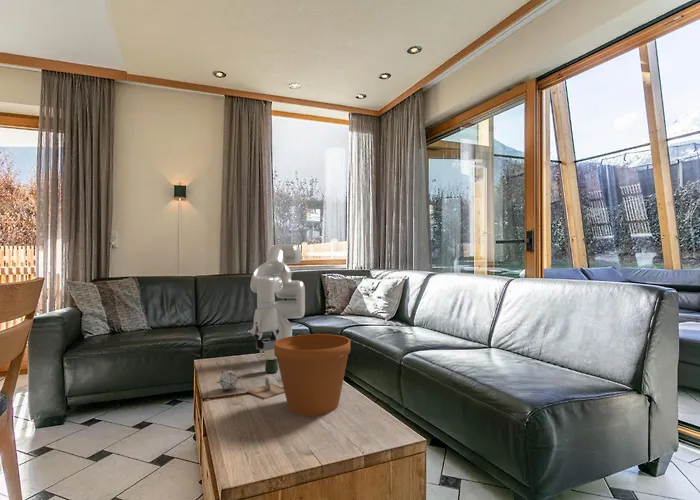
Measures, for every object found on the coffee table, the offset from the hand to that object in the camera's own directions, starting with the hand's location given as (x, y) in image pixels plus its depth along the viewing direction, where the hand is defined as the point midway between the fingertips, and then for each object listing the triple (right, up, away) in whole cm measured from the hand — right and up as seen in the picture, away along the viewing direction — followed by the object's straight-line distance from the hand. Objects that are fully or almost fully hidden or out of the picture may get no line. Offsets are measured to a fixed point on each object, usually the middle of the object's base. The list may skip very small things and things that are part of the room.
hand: (266, 346), depth 171 cm
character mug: (-1, -17, +18) cm, 24 cm away
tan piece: (+3, -16, -10) cm, 19 cm away
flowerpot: (+23, -15, -26) cm, 38 cm away
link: (0, -1, 0) cm, 1 cm away
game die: (-14, -16, -7) cm, 23 cm away
